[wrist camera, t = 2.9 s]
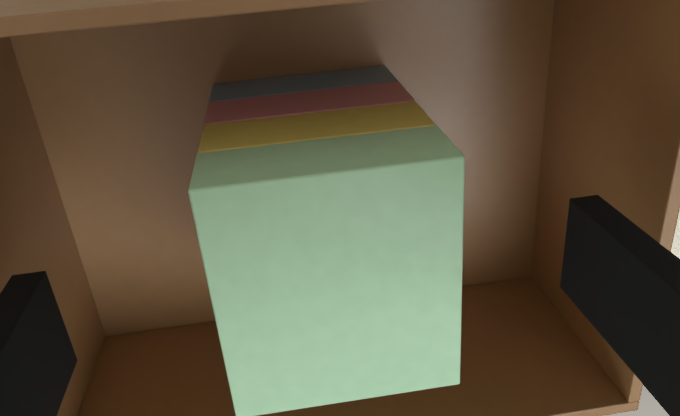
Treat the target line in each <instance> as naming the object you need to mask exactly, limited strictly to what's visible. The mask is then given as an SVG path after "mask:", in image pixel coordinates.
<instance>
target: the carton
mask: <svg viewBox="0 0 680 416" xmlns="http://www.w3.org/2000/svg"><path fill="white" fill-rule="evenodd" d="M383 65H385V66H386V67H387V68H388V69H389V71H390V72H391V73H392V74H393V75H394V76H395V77H396V79H397V80H398V81H399V82H400V83H401V84H402V86H403V87H404V88H405V89H406V90H407V91H408V92H409V94H410V95H411V96H412V97H413V98H414V99H415V101H416V102H417V103H418V104H419V106H420V107H421V108H422V109H423V110H424V111H425V113H426V114H427V115H428V116H429V117H430V118H431V119H432V121H433V122H434V123H435V124H436V126H438V127H439V128H440V129H441V130H442V131H443V132H444V134H445V135H446V136H447V137H448V138H449V139H450V140H451V142H452V143H453V144H454V145H455V146H456V147H457V148H458V150H459V151H460V152H461V153H462V154H463V155H464V157H465V180H464V225H463V271H462V316H461V362H460V384H457V385H451V386H444V387H438V388H431V389H425V390H418V391H412V392H406V393H399V394H393V395H386V396H380V397H373V398H367V399H360V400H354V401H348V402H341V403H335V404H328V405H322V406H315V407H309V408H302V409H296V410H290V411H283V412H277V413H270V414H264V415H257V416H603V415H610V414H616V413H622V412H628V411H634V410H637V409H638V406H639V400H640V396H641V391H642V386H643V384H642V382H641V381H640V380H639V379H638V378H637V377H636V375H635V374H634V373H633V372H632V371H631V370H630V368H629V367H628V366H627V365H626V364H625V363H624V361H623V360H622V359H621V358H620V357H619V356H618V354H617V353H616V352H615V351H614V350H613V349H612V347H611V346H610V345H609V344H608V343H607V341H606V340H605V339H604V338H603V337H602V336H601V334H600V333H599V332H598V331H597V330H596V329H595V327H594V326H593V325H592V324H591V323H590V322H589V320H588V319H587V318H586V317H585V316H584V315H583V313H582V312H581V311H580V310H579V309H578V307H577V306H576V305H575V304H574V303H573V302H572V300H571V299H570V298H569V297H568V296H567V295H566V293H565V292H564V291H563V290H562V289H561V288H560V282H561V273H562V264H563V255H564V246H565V237H566V228H567V219H568V210H569V201H570V198H578V197H585V196H592V195H599V196H600V197H601V198H602V199H604V200H605V201H606V202H608V203H609V204H610V205H611V206H613V207H614V208H615V209H616V210H618V211H619V212H620V213H622V214H623V215H624V216H625V217H627V218H628V219H629V220H630V221H632V222H633V223H634V224H636V225H637V226H638V227H639V228H641V229H642V230H643V231H644V232H646V233H647V234H648V235H650V236H651V237H652V238H653V239H655V240H656V241H657V242H658V243H660V244H661V245H662V246H664V247H665V248H666V249H667V250H669V251H670V252H671V247H672V242H673V237H674V233H675V228H676V223H677V218H678V213H679V208H680V0H0V293H1V292H2V290H3V289H4V287H5V285H6V284H7V282H8V281H9V279H10V278H11V276H12V275H17V274H24V273H32V272H39V271H46V273H47V276H48V279H49V281H50V284H51V287H52V290H53V293H54V296H55V298H56V301H57V304H58V307H59V310H60V312H61V315H62V318H63V321H64V324H65V326H66V329H67V332H68V335H69V338H70V340H71V343H72V346H73V349H74V352H75V354H76V357H77V363H76V366H75V368H74V371H73V374H72V376H71V379H70V382H69V384H68V387H67V390H66V392H65V395H64V398H63V400H62V403H61V406H60V408H59V411H58V414H57V416H236V415H235V411H234V406H233V401H232V396H231V392H230V387H229V382H228V378H227V373H226V368H225V363H224V359H223V354H222V349H221V345H220V340H219V335H218V331H217V326H216V321H215V316H214V312H213V307H212V302H211V298H210V293H209V288H208V284H207V279H206V274H205V269H204V265H203V260H202V255H201V251H200V246H199V241H198V236H197V232H196V227H195V222H194V218H193V213H192V208H191V204H190V199H189V194H188V190H189V185H190V181H191V177H192V173H193V168H194V164H195V160H196V155H197V153H198V149H199V145H200V140H201V136H202V132H203V127H204V121H205V117H206V113H207V108H208V104H209V99H210V95H211V91H212V87H213V84H216V83H225V82H235V81H244V80H253V79H262V78H272V77H281V76H290V75H299V74H309V73H318V72H327V71H337V70H346V69H355V68H364V67H374V66H383Z"/></svg>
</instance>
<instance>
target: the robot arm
mask: <svg viewBox="0 0 680 416" xmlns="http://www.w3.org/2000/svg"><path fill="white" fill-rule="evenodd" d="M560 288H561V289H562V290H563V291H564V292H565V293H566V295H567V296H568V297H569V298H570V299H571V300H572V302H573V303H574V304H575V305H576V306H577V307H578V309H579V310H580V311H581V312H582V313H583V315H584V316H585V317H586V318H587V319H588V320H589V322H590V323H591V324H592V325H593V326H594V327H595V329H596V330H597V331H598V332H599V333H600V334H601V336H602V337H603V338H604V339H605V340H606V341H607V343H608V344H609V345H610V346H611V347H612V349H613V350H614V351H615V352H616V353H617V354H618V356H619V357H620V358H621V359H622V360H623V361H624V363H625V364H626V365H627V366H628V367H629V368H630V370H631V371H632V372H633V373H634V374H635V375H636V377H637V378H638V379H639V380H640V381H641V382H642V384H643V385H644V386H645V387H646V388H647V389H648V391H649V392H650V393H651V394H652V395H653V396H654V397H655V399H656V400H657V401H658V402H659V404H660V405H661V406H662V407H663V408H664V409H665V411H666V412H667V413H668V414H669V415H670V416H680V259H679V258H678V257H676V256H675V255H674V254H672V253H671V252H670V251H669V250H667V249H666V248H665V247H664V246H662V245H661V244H660V243H658V242H657V241H656V240H655V239H653V238H652V237H651V236H650V235H648V234H647V233H646V232H644V231H643V230H642V229H641V228H639V227H638V226H637V225H636V224H634V223H633V222H632V221H630V220H629V219H628V218H627V217H625V216H624V215H623V214H622V213H620V212H619V211H618V210H616V209H615V208H614V207H613V206H611V205H610V204H609V203H608V202H606V201H605V200H604V199H602V198H601V197H600V196H599V195H592V196H585V197H578V198H570V201H569V210H568V219H567V228H566V237H565V246H564V255H563V264H562V273H561V282H560ZM76 363H77V357H76V354H75V352H74V349H73V346H72V343H71V340H70V338H69V335H68V332H67V329H66V326H65V324H64V321H63V318H62V315H61V312H60V310H59V307H58V304H57V301H56V298H55V296H54V293H53V290H52V287H51V284H50V281H49V279H48V276H47V273H46V271H39V272H32V273H24V274H17V275H12V276H11V278H10V279H9V281H8V282H7V284H6V285H5V287H4V289H3V290H2V292H1V293H0V416H57V414H58V411H59V408H60V406H61V403H62V400H63V398H64V395H65V392H66V390H67V387H68V384H69V382H70V379H71V376H72V374H73V371H74V368H75V366H76Z"/></svg>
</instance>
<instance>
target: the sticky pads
mask: <svg viewBox="0 0 680 416" xmlns="http://www.w3.org/2000/svg"><path fill="white" fill-rule="evenodd" d="M464 180H465V157H464V155H463V154H462V153H461V152H460V151H459V150H458V148H457V147H456V146H455V145H454V144H453V143H452V142H451V140H450V139H449V138H448V137H447V136H446V135H445V134H444V132H443V131H442V130H441V129H440V128H439V127H438V126H436V124H435V123H434V122H433V121H432V119H431V118H430V117H429V116H428V115H427V114H426V113H425V111H424V110H423V109H422V108H421V107H420V106H419V104H418V103H417V102H416V101H415V99H414V98H413V97H412V96H411V95H410V94H409V92H408V91H407V90H406V89H405V88H404V87H403V86H402V84H401V83H400V82H399V81H398V80H397V79H396V77H395V76H394V75H393V74H392V73H391V72H390V71H389V69H388V68H387V67H386V66H385V65H383V66H374V67H364V68H355V69H346V70H337V71H327V72H318V73H309V74H299V75H290V76H281V77H272V78H262V79H253V80H244V81H235V82H225V83H216V84H213V87H212V91H211V95H210V99H209V104H208V108H207V113H206V117H205V121H204V127H203V132H202V136H201V140H200V145H199V149H198V153H197V155H196V160H195V164H194V168H193V173H192V177H191V181H190V185H189V190H188V194H189V199H190V204H191V208H192V213H193V218H194V222H195V227H196V232H197V236H198V241H199V246H200V251H201V255H202V260H203V265H204V269H205V274H206V279H207V284H208V288H209V293H210V298H211V302H212V307H213V312H214V316H215V321H216V326H217V331H218V335H219V340H220V345H221V349H222V354H223V359H224V363H225V368H226V373H227V378H228V382H229V387H230V392H231V396H232V401H233V406H234V411H235V415H236V416H257V415H264V414H270V413H277V412H283V411H290V410H296V409H302V408H309V407H315V406H322V405H328V404H335V403H341V402H348V401H354V400H360V399H367V398H373V397H380V396H386V395H393V394H399V393H406V392H412V391H418V390H425V389H431V388H438V387H444V386H451V385H457V384H460V362H461V316H462V271H463V225H464Z"/></svg>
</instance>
